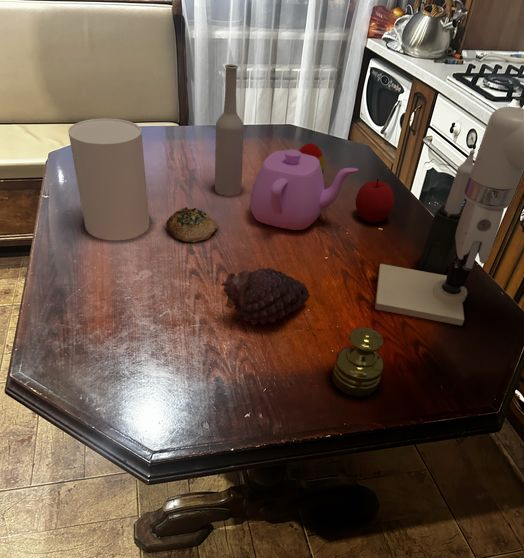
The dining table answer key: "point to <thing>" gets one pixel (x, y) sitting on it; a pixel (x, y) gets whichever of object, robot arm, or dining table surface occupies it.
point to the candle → (446, 224)
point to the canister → (110, 177)
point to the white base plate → (418, 295)
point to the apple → (375, 201)
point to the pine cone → (264, 294)
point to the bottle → (229, 141)
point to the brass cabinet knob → (359, 363)
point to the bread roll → (191, 225)
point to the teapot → (292, 190)
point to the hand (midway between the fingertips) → (454, 283)
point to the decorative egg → (313, 153)
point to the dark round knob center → (451, 288)
